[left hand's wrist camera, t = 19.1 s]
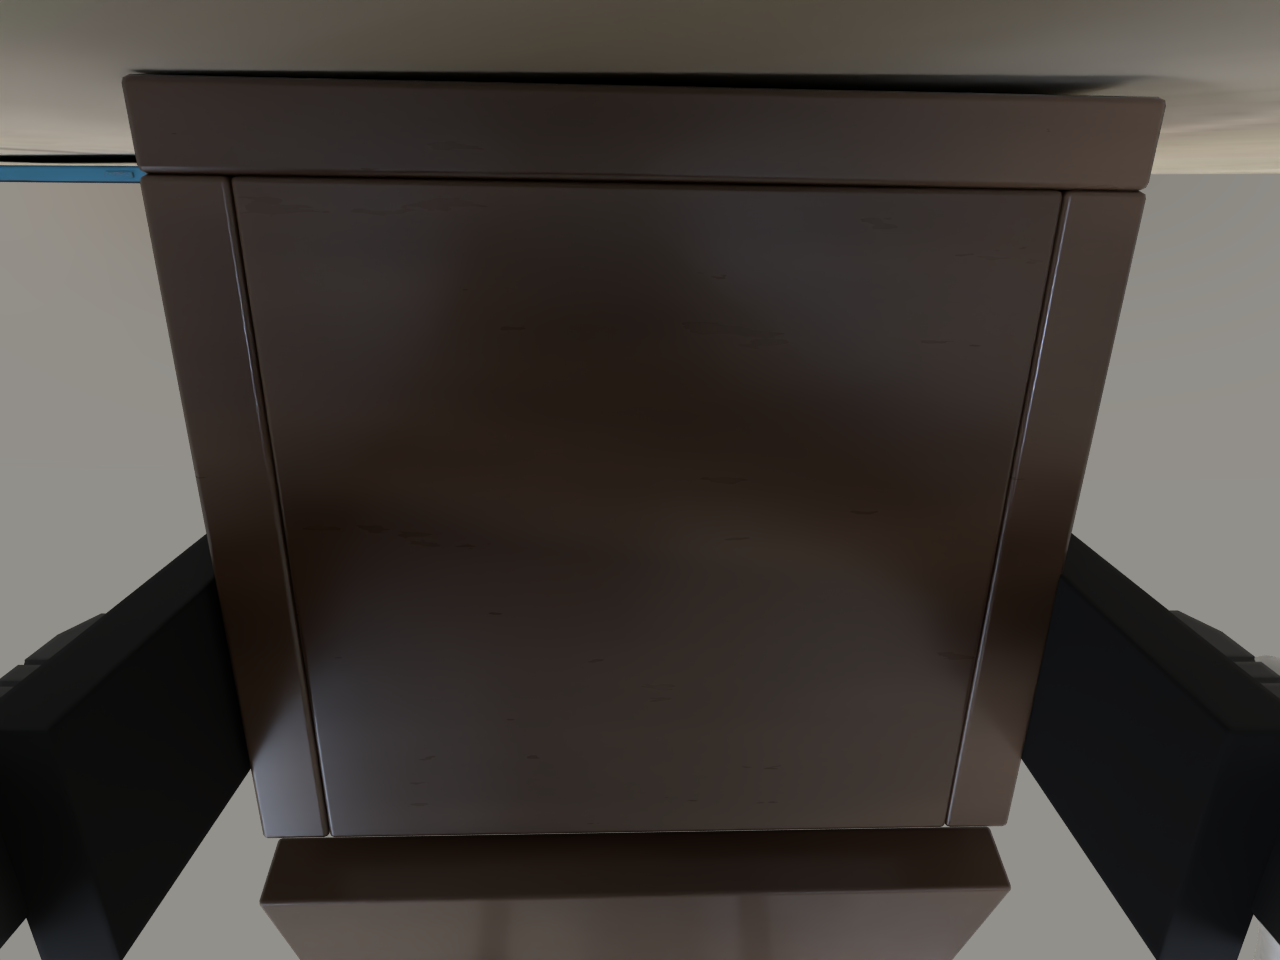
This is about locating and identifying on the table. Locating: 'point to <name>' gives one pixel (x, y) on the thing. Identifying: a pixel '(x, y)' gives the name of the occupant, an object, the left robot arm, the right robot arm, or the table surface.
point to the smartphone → (71, 174)
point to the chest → (636, 437)
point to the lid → (637, 895)
